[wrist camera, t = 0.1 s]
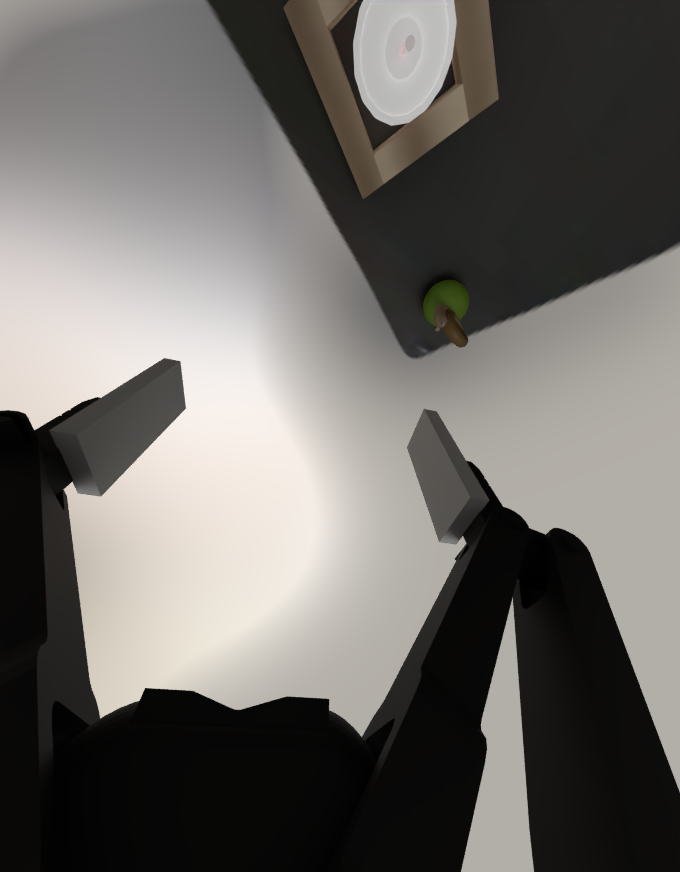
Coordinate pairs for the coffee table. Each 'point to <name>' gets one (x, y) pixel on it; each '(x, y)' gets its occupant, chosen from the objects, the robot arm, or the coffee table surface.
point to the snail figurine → (447, 309)
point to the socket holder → (473, 92)
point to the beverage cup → (402, 55)
